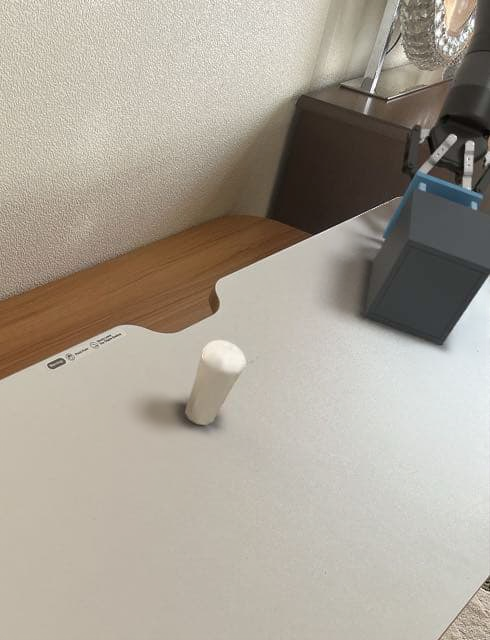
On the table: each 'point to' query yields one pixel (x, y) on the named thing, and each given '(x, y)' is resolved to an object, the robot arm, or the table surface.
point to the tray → (439, 189)
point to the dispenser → (429, 266)
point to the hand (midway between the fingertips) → (429, 213)
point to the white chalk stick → (214, 380)
